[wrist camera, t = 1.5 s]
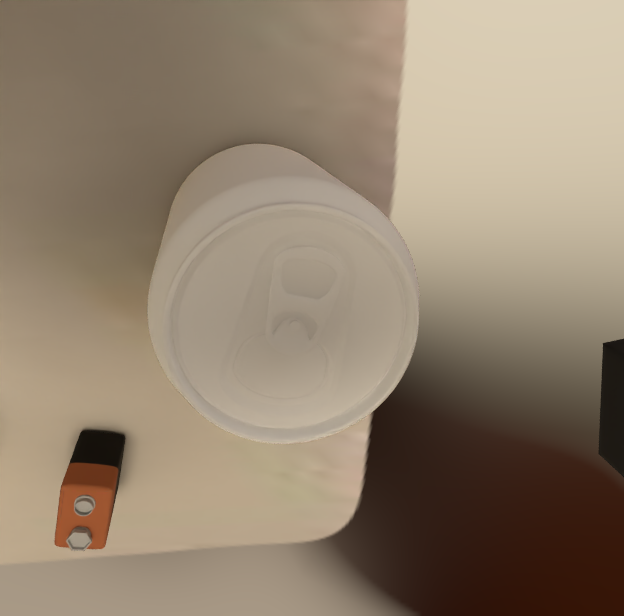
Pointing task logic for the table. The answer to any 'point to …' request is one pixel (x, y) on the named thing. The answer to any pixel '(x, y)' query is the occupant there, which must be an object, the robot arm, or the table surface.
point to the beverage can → (280, 297)
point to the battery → (89, 491)
